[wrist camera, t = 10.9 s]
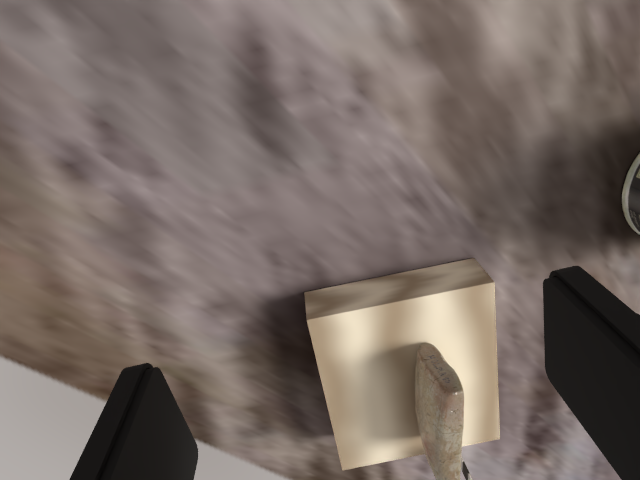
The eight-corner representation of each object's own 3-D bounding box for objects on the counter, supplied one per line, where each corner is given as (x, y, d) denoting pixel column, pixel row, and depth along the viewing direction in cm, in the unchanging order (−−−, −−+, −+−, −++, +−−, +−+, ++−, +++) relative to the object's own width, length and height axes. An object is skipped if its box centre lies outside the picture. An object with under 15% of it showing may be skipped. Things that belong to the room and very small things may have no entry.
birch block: (473, 258, 38) (494, 282, 34) (481, 405, 44) (499, 438, 41) (304, 292, 38) (306, 320, 34) (337, 434, 44) (342, 470, 41)
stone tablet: (481, 510, 35) (489, 387, 31) (433, 519, 35) (433, 397, 30) (453, 448, 41) (455, 335, 36) (410, 456, 41) (407, 343, 36)
